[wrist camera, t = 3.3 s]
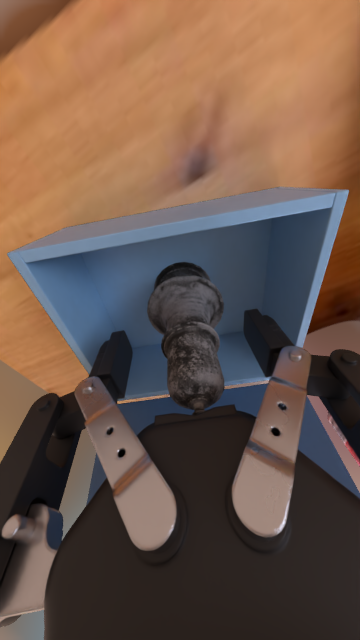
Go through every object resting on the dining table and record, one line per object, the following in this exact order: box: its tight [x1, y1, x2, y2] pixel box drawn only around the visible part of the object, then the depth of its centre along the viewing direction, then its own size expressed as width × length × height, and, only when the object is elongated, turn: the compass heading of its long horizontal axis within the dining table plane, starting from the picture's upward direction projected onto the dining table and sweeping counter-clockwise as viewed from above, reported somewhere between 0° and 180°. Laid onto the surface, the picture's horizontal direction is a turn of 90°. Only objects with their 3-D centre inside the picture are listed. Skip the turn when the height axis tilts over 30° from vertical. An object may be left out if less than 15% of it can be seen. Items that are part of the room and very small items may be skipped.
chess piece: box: [147, 262, 224, 415], centre depth 13 cm, size 6×6×12 cm
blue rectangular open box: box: [7, 187, 349, 401], centre depth 15 cm, size 13×16×7 cm
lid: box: [86, 384, 360, 506], centre depth 11 cm, size 14×16×1 cm
